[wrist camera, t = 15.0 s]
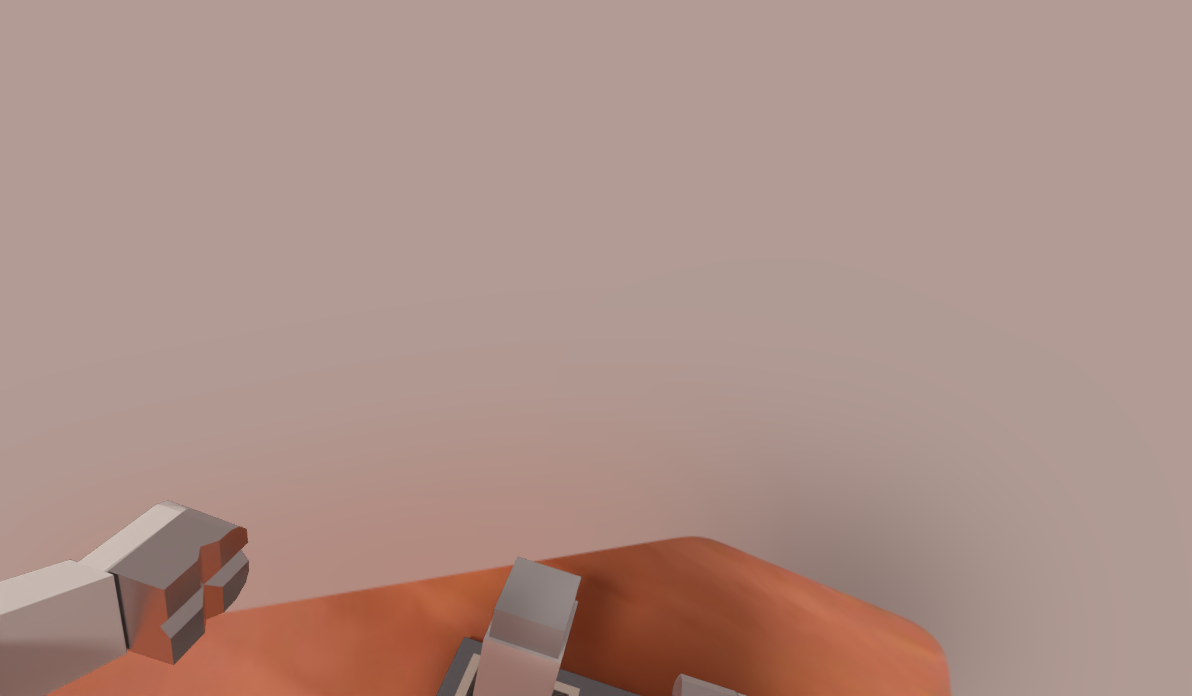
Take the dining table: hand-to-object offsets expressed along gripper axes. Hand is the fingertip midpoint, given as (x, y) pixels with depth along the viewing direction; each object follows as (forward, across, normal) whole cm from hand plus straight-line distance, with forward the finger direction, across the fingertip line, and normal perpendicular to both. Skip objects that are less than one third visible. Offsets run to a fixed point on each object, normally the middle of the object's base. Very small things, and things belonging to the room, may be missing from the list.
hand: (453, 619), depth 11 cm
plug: (+15, 0, +28) cm, 32 cm away
